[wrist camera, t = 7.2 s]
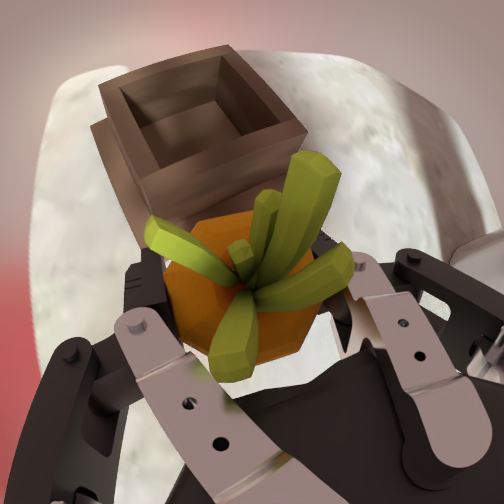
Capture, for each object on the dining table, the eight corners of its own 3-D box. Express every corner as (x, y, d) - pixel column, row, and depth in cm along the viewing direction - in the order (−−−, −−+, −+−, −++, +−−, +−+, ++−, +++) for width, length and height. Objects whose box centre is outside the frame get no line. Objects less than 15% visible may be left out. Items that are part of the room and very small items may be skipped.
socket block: (226, 82, 24) (235, 32, 18) (308, 188, 22) (341, 144, 16) (92, 133, 20) (73, 83, 14) (151, 269, 18) (131, 240, 12)
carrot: (213, 367, 17) (274, 481, 3) (165, 304, 18) (62, 195, 4) (273, 319, 19) (464, 266, 4) (227, 260, 19) (304, 75, 5)
